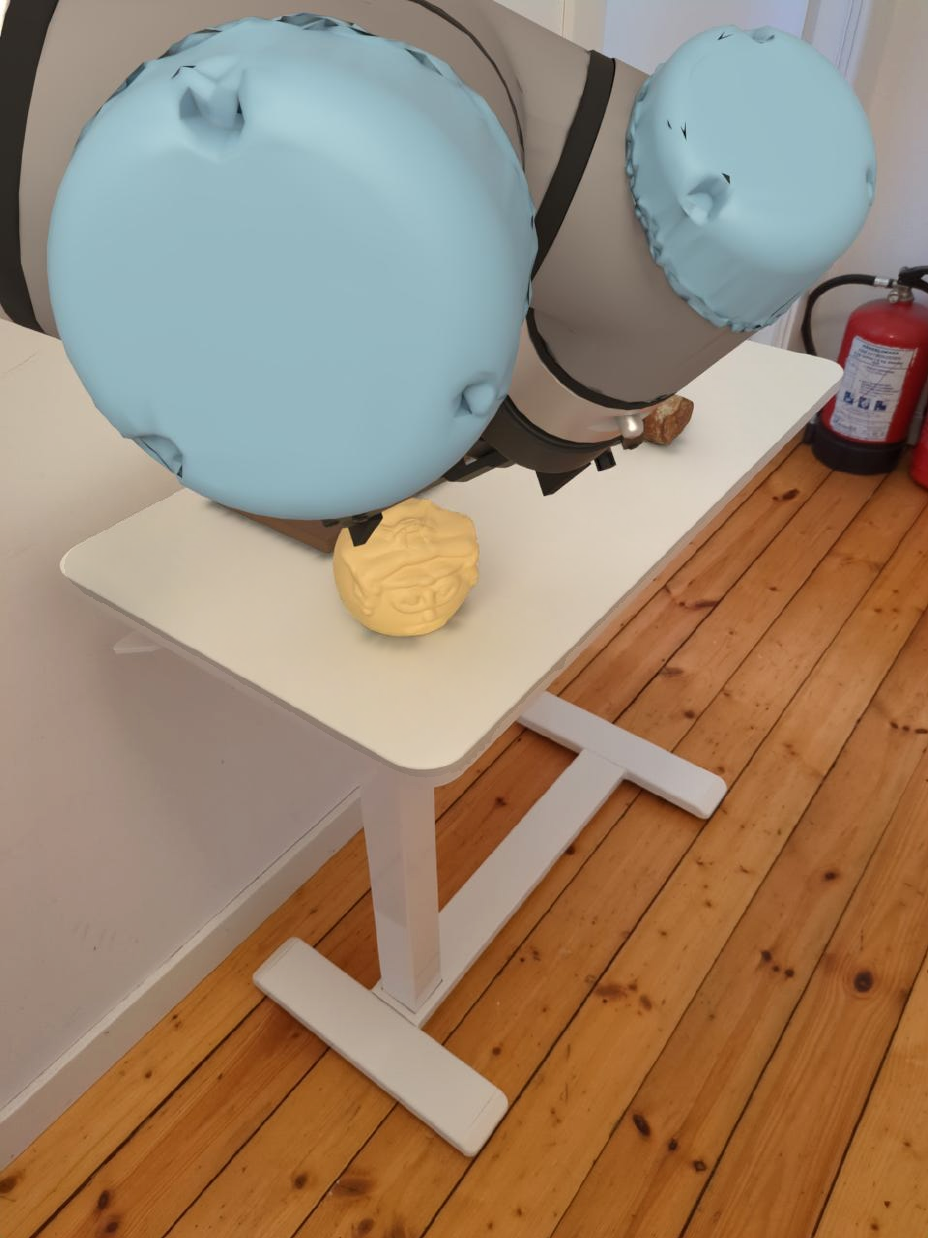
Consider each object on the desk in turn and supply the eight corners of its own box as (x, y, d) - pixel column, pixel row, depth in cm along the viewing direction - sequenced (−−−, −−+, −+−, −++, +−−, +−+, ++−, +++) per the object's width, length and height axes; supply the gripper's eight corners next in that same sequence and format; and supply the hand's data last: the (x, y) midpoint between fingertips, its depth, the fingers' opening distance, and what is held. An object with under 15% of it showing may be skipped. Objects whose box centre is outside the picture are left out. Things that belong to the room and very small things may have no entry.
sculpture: (367, 673, 72) (354, 563, 65) (323, 591, 80) (307, 486, 73) (496, 633, 75) (496, 524, 68) (440, 558, 84) (435, 456, 77)
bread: (667, 457, 97) (673, 410, 94) (529, 408, 107) (530, 364, 104) (696, 435, 101) (703, 389, 98) (560, 390, 111) (562, 347, 108)
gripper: (323, 516, 35) (284, 605, 55) (829, 388, 42) (631, 508, 63) (266, 338, 35) (248, 491, 56) (776, 242, 43) (597, 408, 63)
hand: (450, 500), depth 59 cm, fingers open, 13 cm apart
